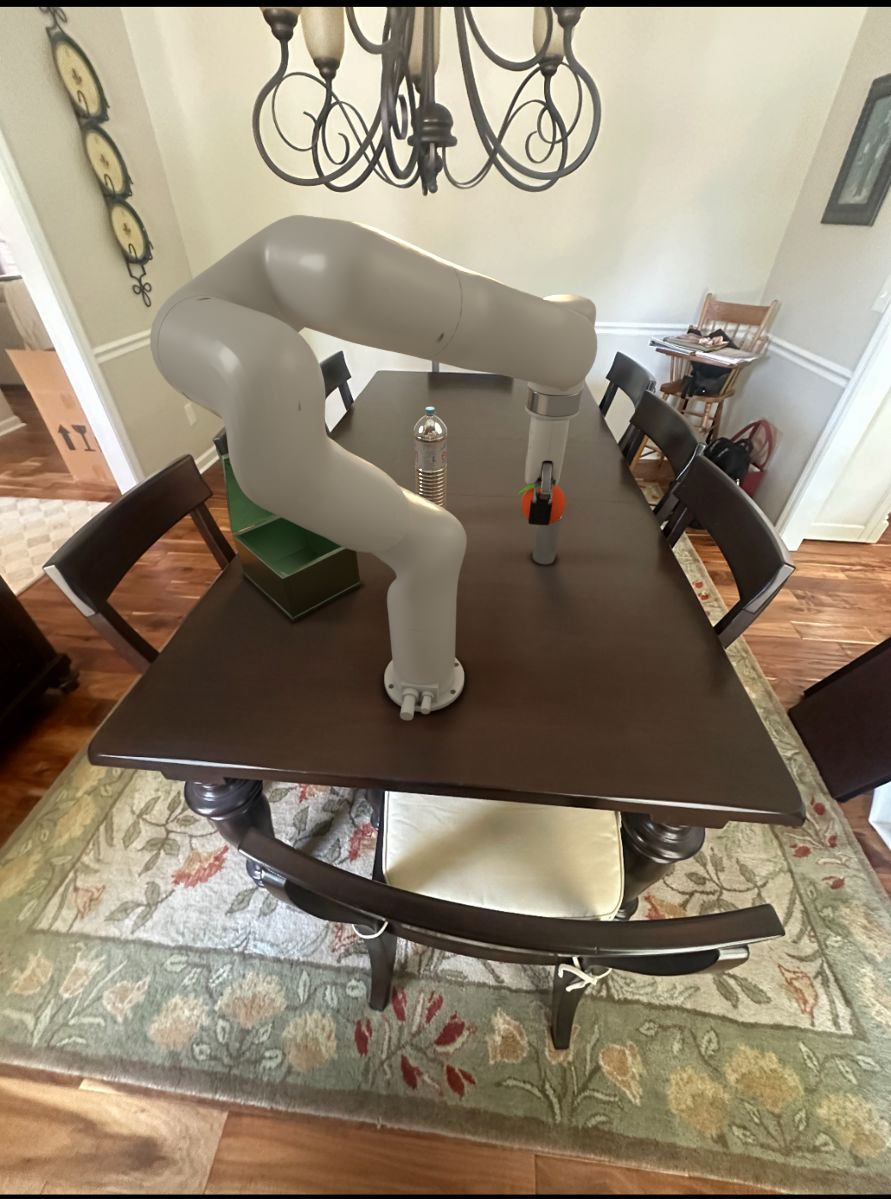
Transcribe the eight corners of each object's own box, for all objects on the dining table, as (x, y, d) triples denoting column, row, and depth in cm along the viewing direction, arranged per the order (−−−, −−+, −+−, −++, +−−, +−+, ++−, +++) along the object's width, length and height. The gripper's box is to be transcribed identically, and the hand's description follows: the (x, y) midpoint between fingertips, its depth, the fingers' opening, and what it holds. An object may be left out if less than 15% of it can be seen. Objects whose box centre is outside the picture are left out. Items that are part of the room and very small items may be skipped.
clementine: (516, 535, 81) (520, 495, 77) (510, 511, 87) (513, 472, 82) (566, 533, 82) (573, 494, 77) (557, 509, 87) (563, 471, 82)
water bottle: (437, 528, 115) (436, 417, 98) (410, 520, 117) (406, 410, 101) (451, 514, 119) (453, 405, 103) (426, 506, 122) (424, 399, 105)
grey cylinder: (551, 567, 104) (558, 523, 97) (529, 561, 106) (535, 518, 99) (557, 555, 107) (564, 512, 100) (536, 549, 109) (542, 507, 102)
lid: (306, 431, 87) (289, 412, 88) (223, 458, 79) (206, 437, 80) (302, 505, 102) (287, 487, 103) (232, 534, 94) (217, 514, 96)
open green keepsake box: (360, 585, 99) (355, 543, 93) (293, 622, 92) (282, 578, 85) (309, 546, 109) (301, 505, 102) (245, 576, 101) (231, 534, 95)
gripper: (527, 377, 78) (516, 482, 90) (525, 423, 65) (513, 540, 77) (577, 379, 77) (560, 485, 89) (585, 427, 64) (564, 543, 76)
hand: (538, 509), depth 83 cm, fingers closed on clementine, 7 cm apart
